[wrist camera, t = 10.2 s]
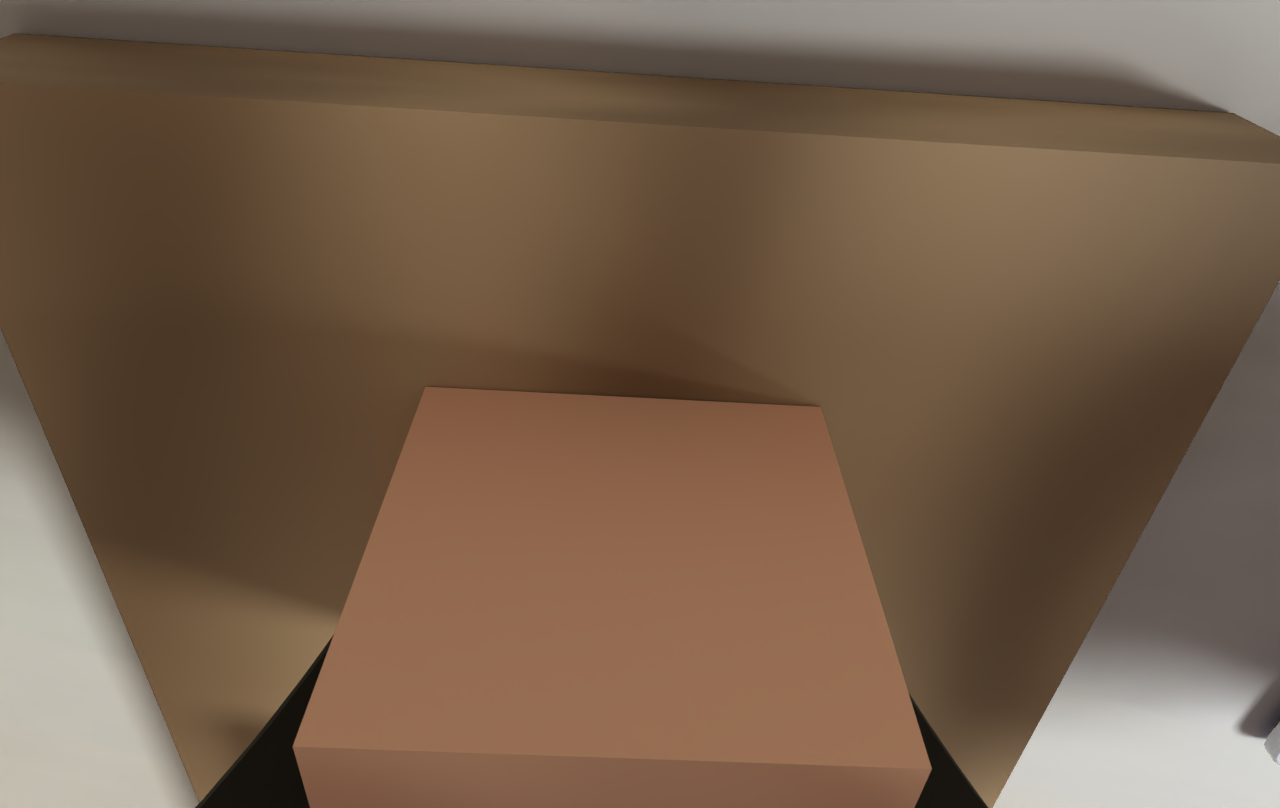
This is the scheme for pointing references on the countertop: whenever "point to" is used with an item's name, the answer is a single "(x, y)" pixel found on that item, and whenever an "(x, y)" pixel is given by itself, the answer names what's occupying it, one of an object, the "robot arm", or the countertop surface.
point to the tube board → (610, 327)
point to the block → (612, 618)
